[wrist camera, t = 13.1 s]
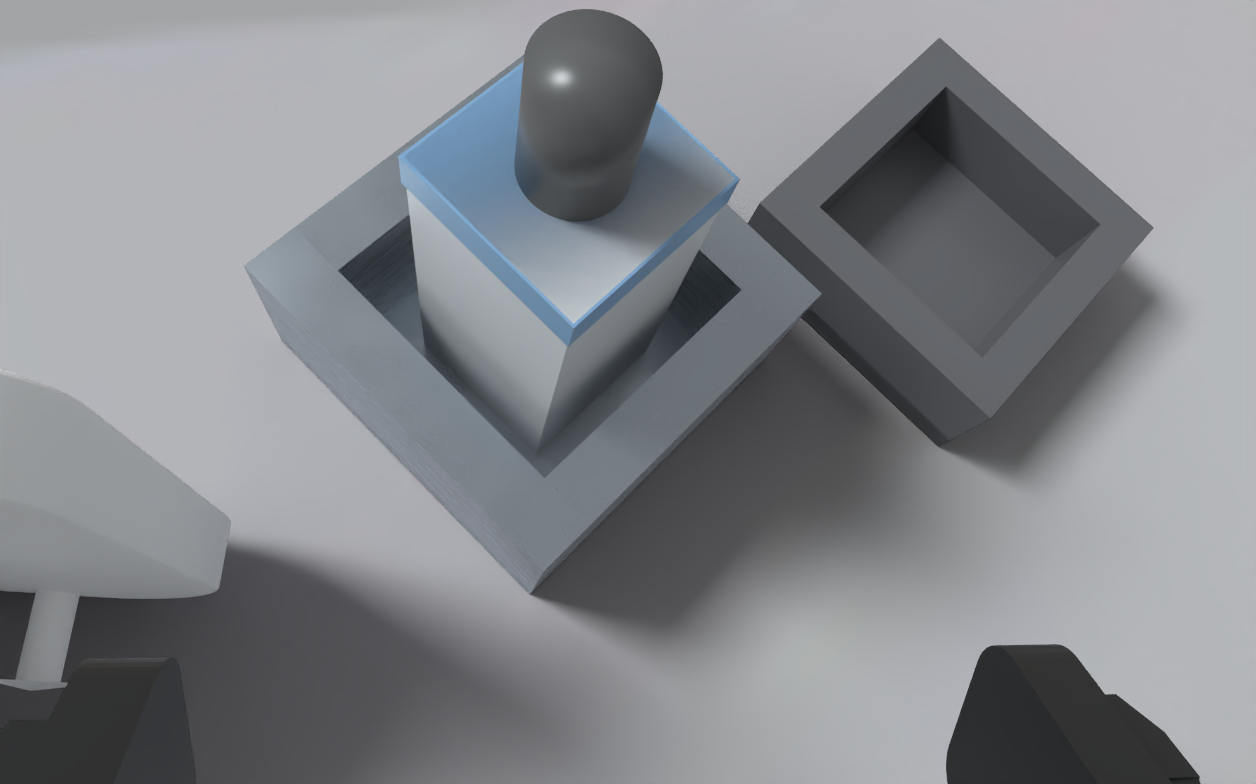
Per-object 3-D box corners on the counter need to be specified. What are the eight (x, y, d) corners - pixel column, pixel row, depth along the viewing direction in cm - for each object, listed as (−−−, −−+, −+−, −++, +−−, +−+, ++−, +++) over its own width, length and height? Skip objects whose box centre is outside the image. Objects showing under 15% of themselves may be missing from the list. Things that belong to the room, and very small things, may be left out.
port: (530, 594, 21) (545, 568, 17) (281, 340, 22) (239, 256, 18) (765, 357, 24) (828, 285, 20) (535, 138, 25) (549, 24, 20)
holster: (938, 446, 24) (990, 418, 21) (731, 250, 25) (760, 203, 22) (1091, 270, 26) (1153, 227, 24) (897, 96, 27) (939, 37, 24)
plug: (535, 457, 22) (595, 253, 12) (421, 342, 22) (384, 51, 12) (648, 351, 23) (790, 84, 13) (537, 243, 23) (592, -96, 13)
